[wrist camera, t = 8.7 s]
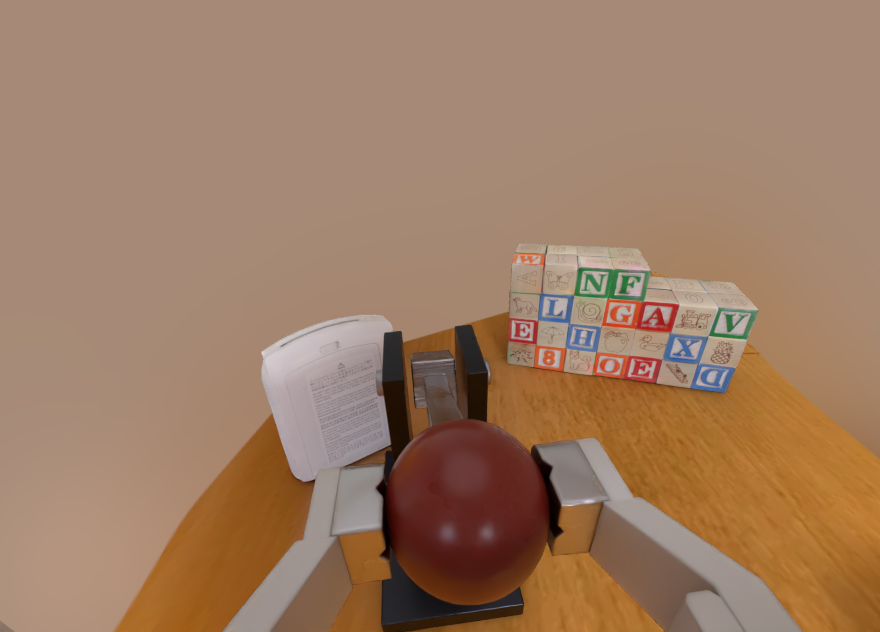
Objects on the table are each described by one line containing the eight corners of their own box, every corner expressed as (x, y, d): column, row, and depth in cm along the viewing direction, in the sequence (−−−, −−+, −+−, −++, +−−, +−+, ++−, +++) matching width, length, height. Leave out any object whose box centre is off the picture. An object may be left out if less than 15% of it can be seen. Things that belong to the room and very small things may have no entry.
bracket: (523, 614, 22) (548, 427, 14) (383, 635, 21) (337, 451, 14) (481, 449, 32) (483, 293, 25) (387, 460, 32) (361, 303, 24)
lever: (586, 641, 7) (575, 448, 7) (386, 672, 7) (366, 473, 6) (465, 399, 22) (460, 338, 22) (403, 405, 22) (397, 343, 21)
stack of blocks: (706, 358, 42) (746, 252, 36) (725, 395, 37) (775, 278, 31) (512, 335, 48) (518, 240, 42) (505, 364, 42) (510, 261, 36)
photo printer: (394, 409, 37) (379, 295, 31) (415, 436, 34) (403, 316, 28) (286, 456, 32) (244, 333, 26) (298, 493, 29) (253, 364, 23)
